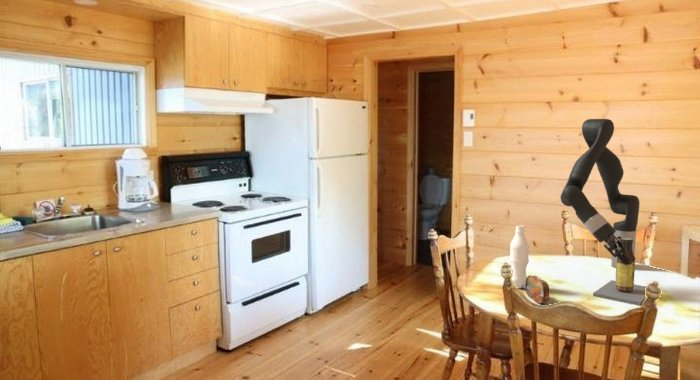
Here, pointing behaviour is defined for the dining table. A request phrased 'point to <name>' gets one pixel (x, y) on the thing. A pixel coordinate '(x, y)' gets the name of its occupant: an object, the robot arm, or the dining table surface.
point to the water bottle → (519, 257)
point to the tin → (537, 289)
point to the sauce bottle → (625, 267)
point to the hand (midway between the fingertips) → (630, 262)
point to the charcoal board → (621, 293)
